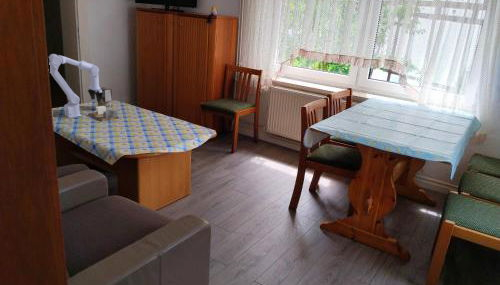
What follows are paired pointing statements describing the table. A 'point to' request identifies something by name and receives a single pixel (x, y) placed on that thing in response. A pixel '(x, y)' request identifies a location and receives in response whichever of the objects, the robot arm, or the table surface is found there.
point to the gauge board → (105, 115)
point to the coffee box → (106, 98)
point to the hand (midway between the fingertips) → (96, 100)
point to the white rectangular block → (100, 109)
